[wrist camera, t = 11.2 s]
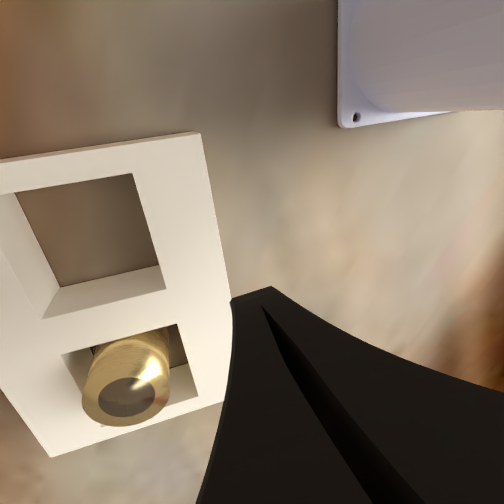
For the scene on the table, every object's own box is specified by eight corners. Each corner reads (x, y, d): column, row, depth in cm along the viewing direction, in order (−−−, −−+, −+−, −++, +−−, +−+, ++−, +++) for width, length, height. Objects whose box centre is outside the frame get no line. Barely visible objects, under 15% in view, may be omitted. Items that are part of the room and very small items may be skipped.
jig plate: (193, 131, 15) (200, 133, 12) (238, 359, 22) (248, 392, 19) (-83, 171, 13) (-147, 185, 10) (65, 412, 20) (50, 457, 17)
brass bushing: (143, 294, 18) (137, 352, 13) (180, 335, 20) (185, 397, 15) (86, 329, 18) (61, 398, 13) (128, 367, 20) (119, 438, 15)
